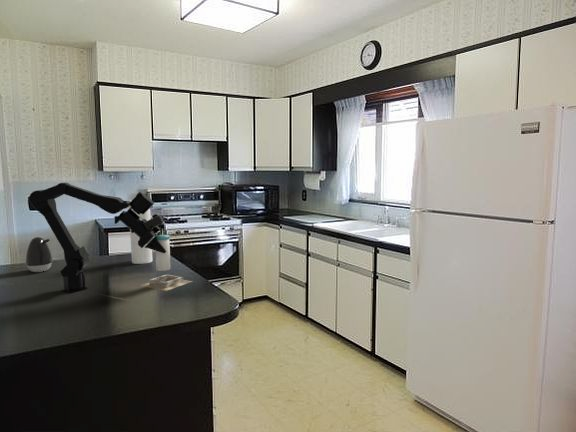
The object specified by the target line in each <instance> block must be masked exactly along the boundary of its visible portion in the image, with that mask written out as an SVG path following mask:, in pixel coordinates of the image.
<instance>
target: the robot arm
mask: <svg viewBox="0 0 576 432" xmlns="http://www.w3.org/2000/svg"><path fill="white" fill-rule="evenodd" d="M63 195H65V196H69V197H72V198H74V199H77V200H80V201H83V202H86V203H89V204H92V205H95V206H97V207H98V208H99V209H101V210H103V211H105V212H107V213H108V214H112V215H115V216H113V217H114V218H113V219H114V224H118V223H119V222H121V223H122V224H123V225H125V226H126V227H127V228H128V229H129V231H130V230H131V232H132V233H135V234H136V235H137V236H138V237H139V239H140V240H139V241H138V245H139V246H140V247H141V248H143V247H144V246H145V245H146V244H147V245H146V246H145V248H149V249H152V251H155V252H156V251H158V252H161V253H166V250H165V249H164V247H163V246H162V245H161V244H160V243H159V241H158V240H157V235H161V231H160V230H161V227H159V225H162V224H164V223H165V220H164V218H163V216H162V215H161V214H158V213H155V214H152V216H151V218H150V220H148V221H147V220H146V219H142V218H140V217H139V216H138V215H137V214H139V215H140V214H145V213H146V212H147V211H148V209H149V208H150V209H151V207H153V205H155V202H154V201H153V200H152V199H151V198H150V197H149V196H148V195H145V194H144V193H143V192H142V191H139V192H138V193H137V194H136V195H135V197H134V198H132V201H131V200H124V199H123V198H121V197H118V196H114V195H113V196H112V195H106V194H105V195H104V194H99V193H96V192H95V191H91V190H87V189H86V188H85V189H84V188H82V187H78V186H76V185H73V184H70V183H69V182H60V183H57V184H56V185H53V186H50V187H49V188H46V189H38V190H33V191H32V192H31V193H30V194H29V196H28V200H29V203H30V204H31V206H33V208H34V209H35V210H36V211H37V212H38V213H39V214H41V215H42V216H43V217H44V219H45V220H46V222H47V224H48V226H49V228H50V229H51V231H52V233H53V235H54V236H55V239H57V242H59V245H60V246H61V248H62V250H63V256H64V260H65V263H66V265H65V266H64V267H63V268H62V269H61V270H60V271H59V272H60V274H61V276H62V281H63V282H62V283H63V288H61V291H63V292H67V293H75V292H79V291H82V290H86V289H88V286H86V276H85V275H84V274H85V273H84V271H85V268H86V266H88V264H89V261H90V258H89V256H90V254H89V253H88V252H87V249H86V247H85V246H81V247H80V246H79V245H78V244H76V242H75V240H74V238H73V236H72V235H71V233H70V231H69V229H68V228H67V226H66V224H65V223H64V221H63V219H62V218H61V216H60V214H59V212H58V210H57V201H56V199H58V198H60V197H61V196H63ZM130 206H131V207H130ZM129 207H130V208H129ZM126 209H127V210H126ZM131 209H133V210H134V211H135V212H136V213H137V214H136V213H135V212H134V211H133V210H131ZM125 210H126V211H125ZM118 213H120V214H119V215H116V214H118Z"/></svg>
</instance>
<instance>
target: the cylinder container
mask: <svg viewBox="0 0 576 432" xmlns="http://www.w3.org/2000/svg"><path fill="white" fill-rule="evenodd" d="M132 200H133V199H132ZM132 200H130V201H132ZM130 207H131V206H130ZM130 207H128V209H129V208H130ZM131 210H133V209H131ZM133 211H134V210H133ZM134 212H135V211H134ZM135 213H136V212H135ZM136 214H137V213H136ZM137 215H138V216H139V217H140V218H142V219H146V220H147V221H148V220H150V219H151V207H150V208H149V209H148V211H147V212H146V213H145V214H140V215H139V214H137ZM129 232H130V234H129V235H130V250H131V264H135V265H137V264H139V265H141V264H149V263H152V262H153V250H152V249H149V248H145V246H146V245H147V244H146V245H145V246H144V247H143V248H141V247H140V246H139V245H138V241H139V240H140V239H139V237H138V236H137V235H136V234H135V233H132V232H131V230H130V229H129Z"/></svg>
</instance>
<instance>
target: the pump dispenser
mask: <svg viewBox="0 0 576 432" xmlns="http://www.w3.org/2000/svg"><path fill="white" fill-rule="evenodd" d="M48 242H50V239H49V238H47V239H44V238H43V237H39V236H36V237H33V238H32V239H31V240H30V241H29V244H28V246H27V249H26V254H25V265H26V268H27V269H28V271H30V272H32V273H43V271H44V272H46V271H48V270H49V269H50V268H51V267H52V263H53V256H52V252H51V250H50V249H51V248H50V247H49V245H48Z"/></svg>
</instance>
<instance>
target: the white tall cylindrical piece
mask: <svg viewBox="0 0 576 432" xmlns="http://www.w3.org/2000/svg"><path fill="white" fill-rule="evenodd" d="M170 239H171V235H170V234H160V235H157V240H158V241H159V243H160V244H161V245H162V246H163V247H164V249H165V250H166V253H161V252H158V251H155V267H156V268H155V270H156V271H159V272H163V271H164V272H165V271H169V270H171V247H170V246H171V244H170Z"/></svg>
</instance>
